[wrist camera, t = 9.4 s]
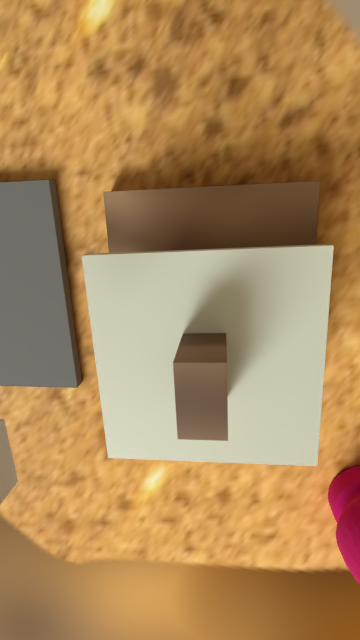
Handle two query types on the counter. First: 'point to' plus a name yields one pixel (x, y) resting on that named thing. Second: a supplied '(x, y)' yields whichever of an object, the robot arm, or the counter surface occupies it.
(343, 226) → the counter surface
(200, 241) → the board
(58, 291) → the mat
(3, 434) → the robot arm
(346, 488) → the pepper mill
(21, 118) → the counter surface
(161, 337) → the lid
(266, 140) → the counter surface
